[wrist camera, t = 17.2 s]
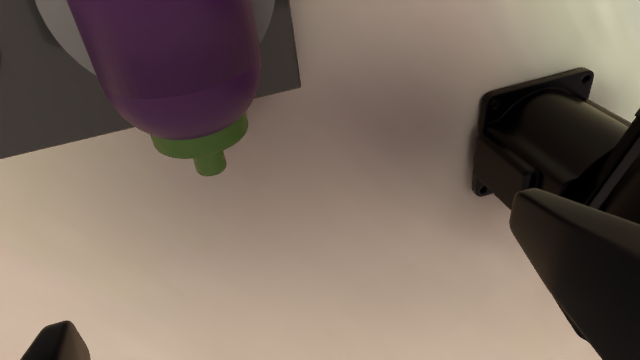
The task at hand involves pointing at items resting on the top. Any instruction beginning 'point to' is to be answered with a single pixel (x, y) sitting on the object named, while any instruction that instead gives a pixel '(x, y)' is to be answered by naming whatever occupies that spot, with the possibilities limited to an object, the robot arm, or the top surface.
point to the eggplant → (176, 70)
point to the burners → (68, 36)
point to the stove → (90, 81)
